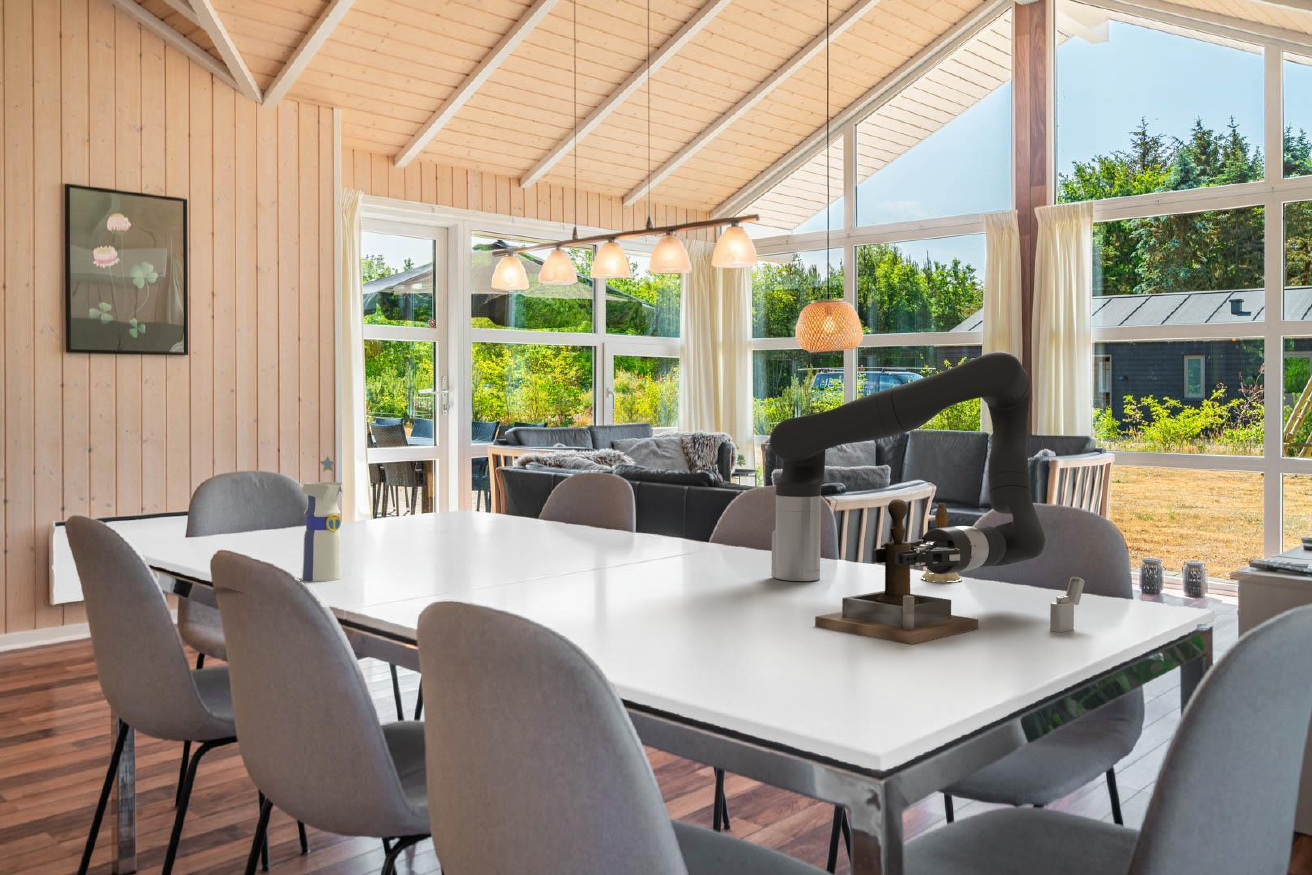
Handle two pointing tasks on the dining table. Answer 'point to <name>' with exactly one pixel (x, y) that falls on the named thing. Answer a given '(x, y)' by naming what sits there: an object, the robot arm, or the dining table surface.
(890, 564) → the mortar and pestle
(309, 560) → the cream gift bag
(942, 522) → the hand bell
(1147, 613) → the dining table surface
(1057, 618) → the lighter
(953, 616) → the collar plate
